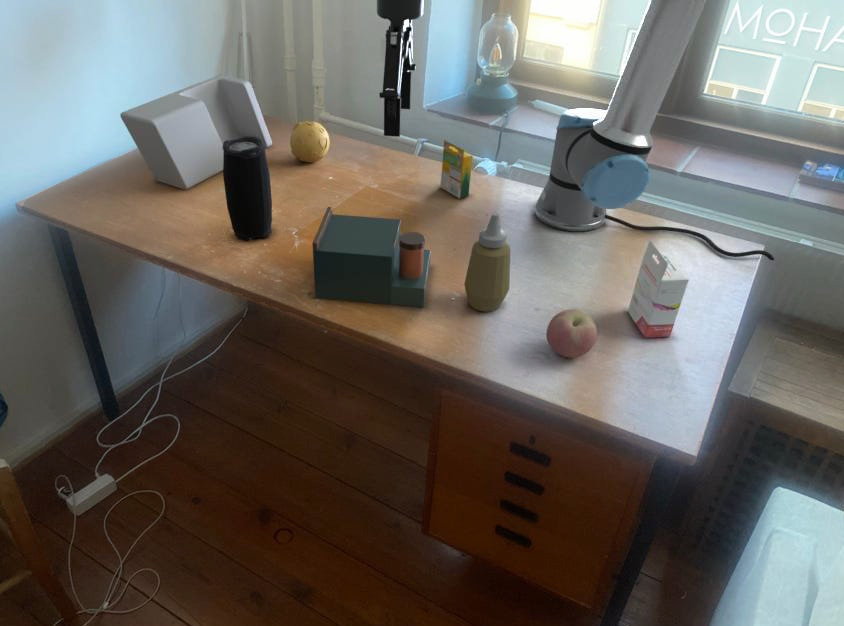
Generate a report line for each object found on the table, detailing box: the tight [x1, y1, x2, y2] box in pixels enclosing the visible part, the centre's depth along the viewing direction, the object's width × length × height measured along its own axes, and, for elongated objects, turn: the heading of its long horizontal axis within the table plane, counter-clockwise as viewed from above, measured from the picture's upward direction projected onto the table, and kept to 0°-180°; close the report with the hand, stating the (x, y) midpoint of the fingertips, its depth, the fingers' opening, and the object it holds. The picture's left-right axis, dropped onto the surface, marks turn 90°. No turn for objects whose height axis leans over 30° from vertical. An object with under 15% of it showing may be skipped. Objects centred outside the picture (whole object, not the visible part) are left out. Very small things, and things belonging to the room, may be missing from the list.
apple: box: [545, 309, 598, 359], centre depth 116 cm, size 8×8×8 cm
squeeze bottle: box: [463, 212, 511, 313], centre depth 124 cm, size 8×8×18 cm
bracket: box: [119, 74, 273, 191], centre depth 169 cm, size 30×10×30 cm, turn 149°
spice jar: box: [399, 231, 426, 279], centre depth 128 cm, size 5×5×7 cm
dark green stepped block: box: [311, 206, 432, 308], centre depth 131 cm, size 20×14×12 cm
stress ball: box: [289, 120, 331, 163], centre depth 176 cm, size 10×10×10 cm
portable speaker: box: [222, 136, 273, 243], centre depth 143 cm, size 9×9×20 cm
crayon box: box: [440, 139, 473, 200], centre depth 163 cm, size 7×3×12 cm, turn 34°
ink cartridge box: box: [627, 240, 690, 339], centre depth 121 cm, size 9×5×15 cm, turn 5°
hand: (397, 121), depth 126 cm, fingers open, 13 cm apart
